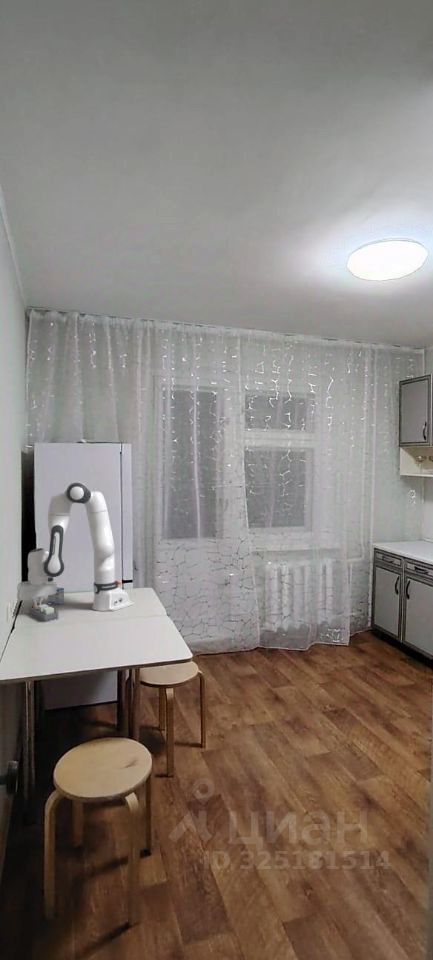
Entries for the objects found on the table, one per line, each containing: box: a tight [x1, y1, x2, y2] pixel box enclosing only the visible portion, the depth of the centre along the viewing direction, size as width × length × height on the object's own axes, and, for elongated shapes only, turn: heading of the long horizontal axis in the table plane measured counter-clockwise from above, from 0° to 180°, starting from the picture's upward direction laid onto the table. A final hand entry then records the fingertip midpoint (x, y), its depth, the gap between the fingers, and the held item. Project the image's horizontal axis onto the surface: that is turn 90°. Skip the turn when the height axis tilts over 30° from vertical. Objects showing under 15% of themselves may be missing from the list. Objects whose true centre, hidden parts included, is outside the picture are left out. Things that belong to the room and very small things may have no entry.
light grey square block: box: [38, 603, 50, 612], centre depth 257 cm, size 4×4×3 cm
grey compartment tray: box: [28, 603, 59, 623], centre depth 257 cm, size 7×20×4 cm, turn 42°
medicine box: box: [47, 587, 65, 605], centre depth 280 cm, size 8×4×9 cm, turn 73°
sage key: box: [43, 606, 55, 615], centre depth 252 cm, size 4×4×3 cm
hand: (37, 605), depth 262 cm, fingers closed, pressing on terracotta key
